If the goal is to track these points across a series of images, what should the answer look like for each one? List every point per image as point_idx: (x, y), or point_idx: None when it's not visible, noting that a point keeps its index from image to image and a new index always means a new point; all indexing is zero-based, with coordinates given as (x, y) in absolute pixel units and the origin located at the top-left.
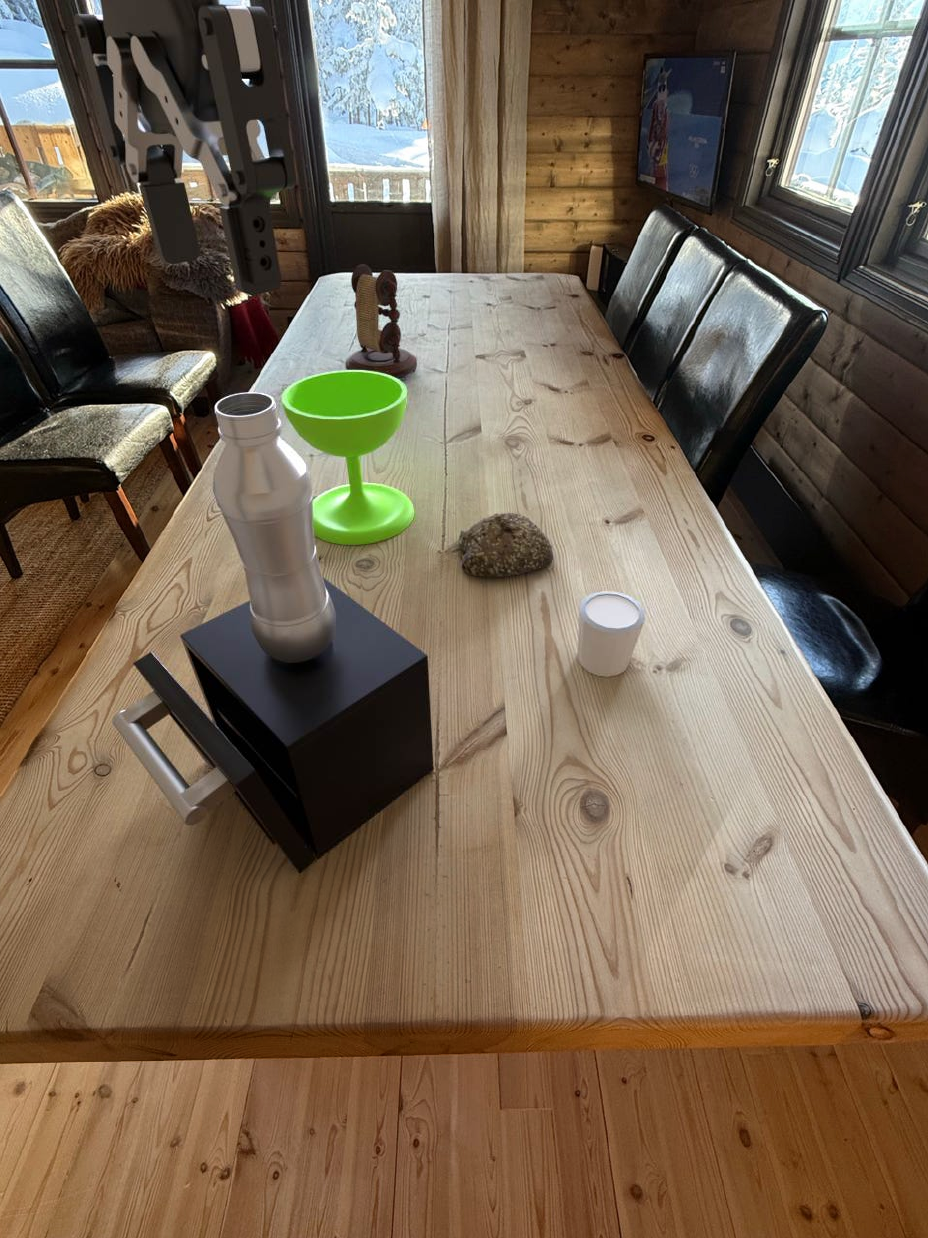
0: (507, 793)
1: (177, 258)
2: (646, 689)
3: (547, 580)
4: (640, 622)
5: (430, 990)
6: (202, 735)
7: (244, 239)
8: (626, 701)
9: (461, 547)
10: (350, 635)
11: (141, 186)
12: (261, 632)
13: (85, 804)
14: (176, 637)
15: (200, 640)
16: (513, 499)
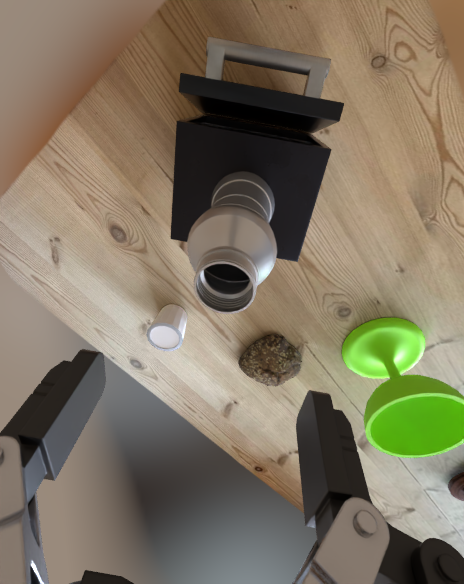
0: (154, 215)
1: (306, 403)
2: (144, 308)
3: (234, 350)
4: (148, 337)
5: (104, 96)
6: (234, 88)
7: (34, 404)
8: (147, 297)
9: (293, 350)
10: None
11: (340, 491)
12: (240, 175)
13: (365, 31)
14: (425, 187)
15: (311, 155)
16: (295, 398)
